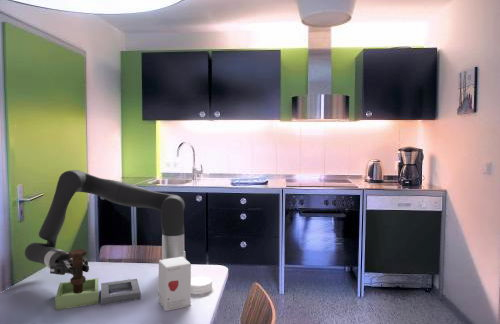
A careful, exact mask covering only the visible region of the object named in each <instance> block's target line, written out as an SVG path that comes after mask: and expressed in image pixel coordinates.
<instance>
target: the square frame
mask: <svg viewBox="0 0 500 324" xmlns="http://www.w3.org/2000/svg"><path fill="white" fill-rule="evenodd" d="M127 289H130V290H129V291H128V290H127ZM120 290H121V291H122V290H127V291H124V292H123V291H122V292H116V293H109V292H113V291H120ZM141 294H142V293H141V289H140V285H139V282H138V278H132V279H124V280H123V279H122V280H117V281H116V280H115V281H109V282H101V283H100V301H101V302H100V305H101V306H106V305H107V306H108V305H113V304H118V303H125V302H133V301H138V300H141V299H142V295H141Z"/></svg>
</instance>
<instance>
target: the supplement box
mask: <svg viewBox="0 0 500 324" xmlns="http://www.w3.org/2000/svg"><path fill="white" fill-rule="evenodd" d="M191 266H192V264H191V263H190V261H188V260H187V258H186V259H185V258H184V257H176V258H169V259H163V260H162V259H159V260H158V303H159V304H160V305H161V307H162V308H163V310H164V311H165V312H168V311H173V310H177V309H182V308H187V307H190V306H191V303H192V302H191V300H192V299H191V296H192V294H191V278H192V271H191V270H192V267H191Z"/></svg>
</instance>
